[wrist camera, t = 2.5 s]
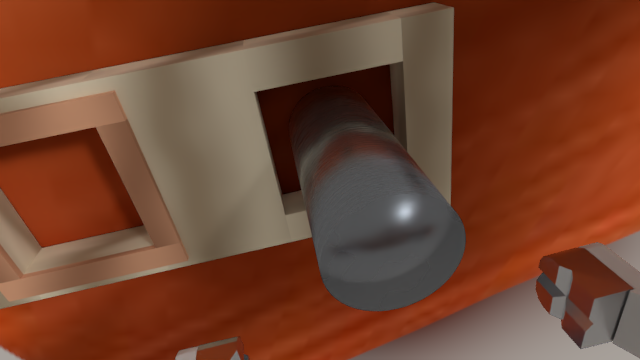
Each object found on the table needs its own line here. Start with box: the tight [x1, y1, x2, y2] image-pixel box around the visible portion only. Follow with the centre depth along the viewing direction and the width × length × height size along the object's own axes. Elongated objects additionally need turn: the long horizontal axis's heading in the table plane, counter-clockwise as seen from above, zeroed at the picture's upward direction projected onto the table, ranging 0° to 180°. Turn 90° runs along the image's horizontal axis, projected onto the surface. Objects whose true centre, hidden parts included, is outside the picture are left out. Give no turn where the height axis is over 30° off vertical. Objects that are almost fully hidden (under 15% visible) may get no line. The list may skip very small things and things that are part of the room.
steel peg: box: [289, 86, 466, 311], centre depth 16 cm, size 4×4×10 cm
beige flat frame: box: [0, 2, 454, 309], centre depth 19 cm, size 24×10×2 cm, turn 100°
